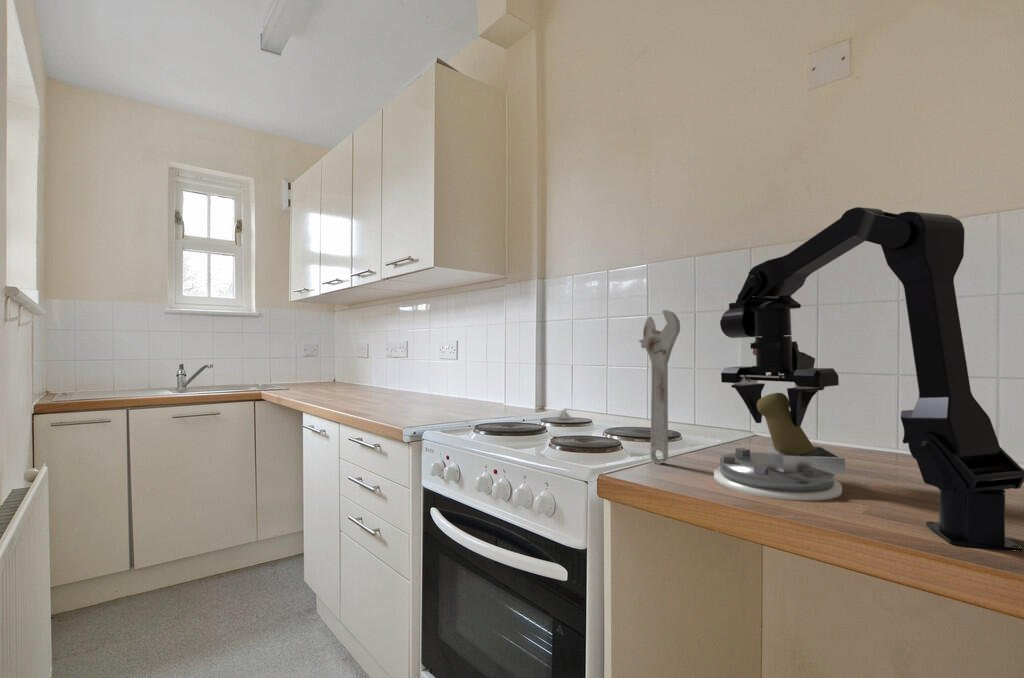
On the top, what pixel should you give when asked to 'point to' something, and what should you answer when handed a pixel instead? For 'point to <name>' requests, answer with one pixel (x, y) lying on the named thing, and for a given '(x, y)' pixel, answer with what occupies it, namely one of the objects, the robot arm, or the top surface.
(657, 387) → the wrench
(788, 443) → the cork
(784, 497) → the base plate
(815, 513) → the top surface
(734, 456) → the grey tabbed disc
